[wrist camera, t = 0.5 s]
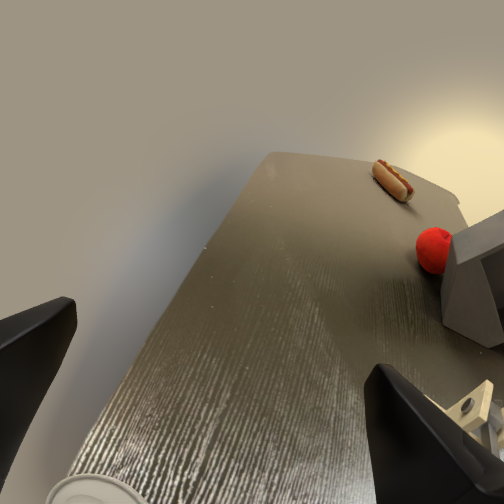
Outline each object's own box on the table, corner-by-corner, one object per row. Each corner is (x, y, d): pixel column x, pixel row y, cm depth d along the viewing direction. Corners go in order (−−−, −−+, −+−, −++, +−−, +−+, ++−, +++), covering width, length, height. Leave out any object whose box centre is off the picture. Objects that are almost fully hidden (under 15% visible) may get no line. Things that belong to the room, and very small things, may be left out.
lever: (497, 526, 9) (525, 506, 8) (457, 503, 11) (487, 482, 10) (491, 432, 20) (509, 414, 19) (459, 408, 22) (477, 389, 21)
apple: (401, 262, 48) (423, 226, 44) (413, 246, 54) (433, 213, 49) (439, 291, 45) (464, 256, 41) (447, 271, 50) (468, 239, 46)
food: (364, 172, 75) (372, 155, 72) (380, 175, 77) (387, 159, 74) (396, 204, 66) (406, 185, 63) (412, 206, 68) (421, 188, 65)
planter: (420, 280, 37) (554, 215, 25) (420, 250, 43) (535, 192, 30) (457, 359, 41) (569, 312, 28) (455, 326, 47) (556, 282, 34)
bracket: (442, 508, 19) (519, 477, 13) (381, 470, 22) (455, 431, 16) (468, 436, 26) (530, 393, 19) (417, 398, 29) (476, 347, 23)
